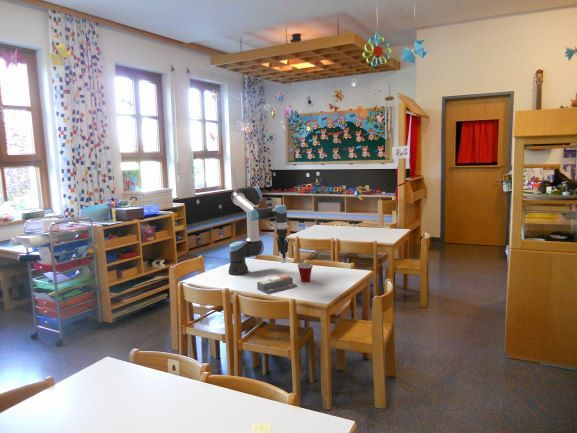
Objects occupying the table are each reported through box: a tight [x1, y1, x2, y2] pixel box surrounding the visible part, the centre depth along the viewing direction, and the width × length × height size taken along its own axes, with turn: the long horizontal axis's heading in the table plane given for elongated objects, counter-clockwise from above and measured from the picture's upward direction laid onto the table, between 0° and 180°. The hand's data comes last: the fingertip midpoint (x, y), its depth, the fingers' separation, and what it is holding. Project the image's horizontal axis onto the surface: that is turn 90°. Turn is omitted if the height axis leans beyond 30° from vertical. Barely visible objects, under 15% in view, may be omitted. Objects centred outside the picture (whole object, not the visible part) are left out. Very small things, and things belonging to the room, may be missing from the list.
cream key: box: [268, 276, 281, 282], centre depth 294 cm, size 6×6×3 cm
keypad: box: [256, 276, 298, 295], centre depth 292 cm, size 13×23×5 cm, turn 123°
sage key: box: [258, 279, 272, 284], centre depth 290 cm, size 6×6×3 cm
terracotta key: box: [277, 273, 291, 280], centre depth 298 cm, size 6×6×3 cm
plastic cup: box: [297, 262, 314, 283], centre depth 304 cm, size 11×11×12 cm
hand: (283, 262), depth 296 cm, fingers closed
